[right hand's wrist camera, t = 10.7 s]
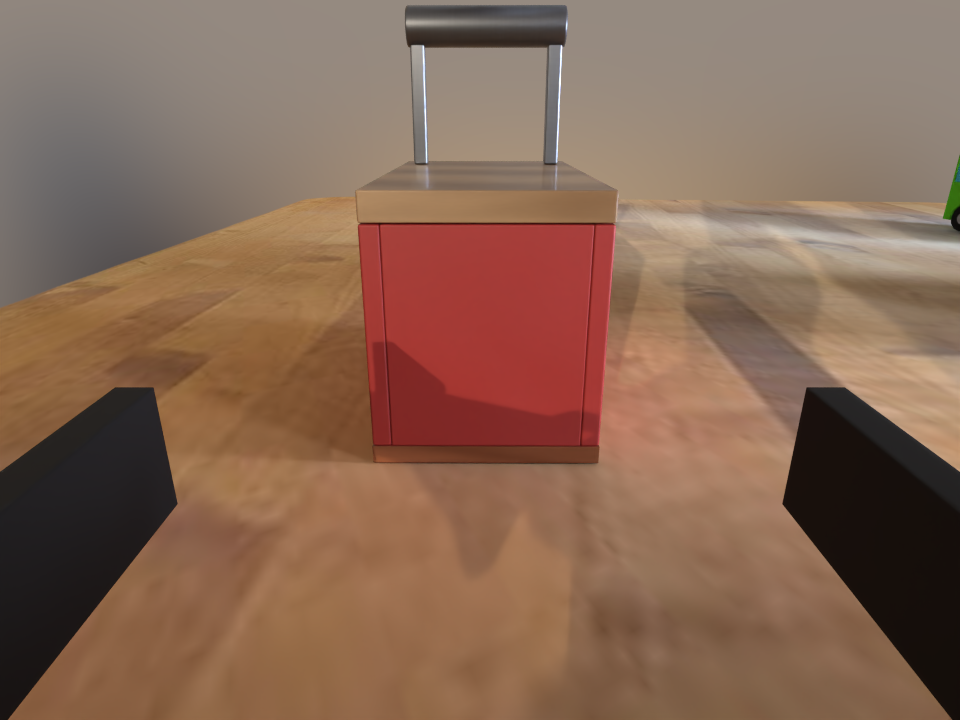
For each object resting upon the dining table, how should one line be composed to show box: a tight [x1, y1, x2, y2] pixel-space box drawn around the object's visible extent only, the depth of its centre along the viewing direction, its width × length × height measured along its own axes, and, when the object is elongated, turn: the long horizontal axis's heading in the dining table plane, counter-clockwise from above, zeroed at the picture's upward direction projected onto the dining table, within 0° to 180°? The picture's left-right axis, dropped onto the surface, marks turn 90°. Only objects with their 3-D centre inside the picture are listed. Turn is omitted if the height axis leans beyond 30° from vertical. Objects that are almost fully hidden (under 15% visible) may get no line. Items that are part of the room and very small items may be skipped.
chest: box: [358, 223, 616, 463], centre depth 30 cm, size 16×9×10 cm, turn 0°
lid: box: [355, 5, 619, 223], centre depth 27 cm, size 16×9×9 cm, turn 0°
